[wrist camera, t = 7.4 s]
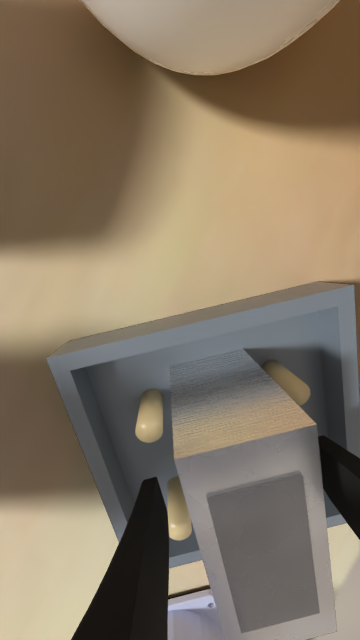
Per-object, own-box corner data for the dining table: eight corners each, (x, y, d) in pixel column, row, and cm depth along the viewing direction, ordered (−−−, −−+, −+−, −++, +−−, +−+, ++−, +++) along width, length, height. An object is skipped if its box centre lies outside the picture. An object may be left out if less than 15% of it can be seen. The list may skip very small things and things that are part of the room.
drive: (265, 481, 14) (339, 636, 8) (203, 496, 14) (231, 664, 8) (242, 348, 12) (319, 426, 6) (169, 366, 12) (173, 462, 6)
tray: (333, 479, 16) (380, 538, 12) (137, 529, 16) (130, 602, 12) (317, 281, 12) (374, 286, 9) (69, 340, 12) (32, 368, 9)
